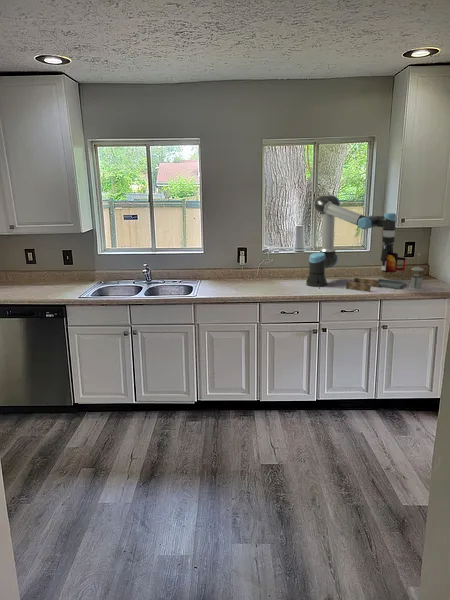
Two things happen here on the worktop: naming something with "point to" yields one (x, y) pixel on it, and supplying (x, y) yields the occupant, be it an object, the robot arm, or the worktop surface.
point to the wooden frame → (362, 284)
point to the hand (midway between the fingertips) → (386, 269)
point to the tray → (391, 283)
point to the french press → (416, 278)
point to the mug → (393, 263)
